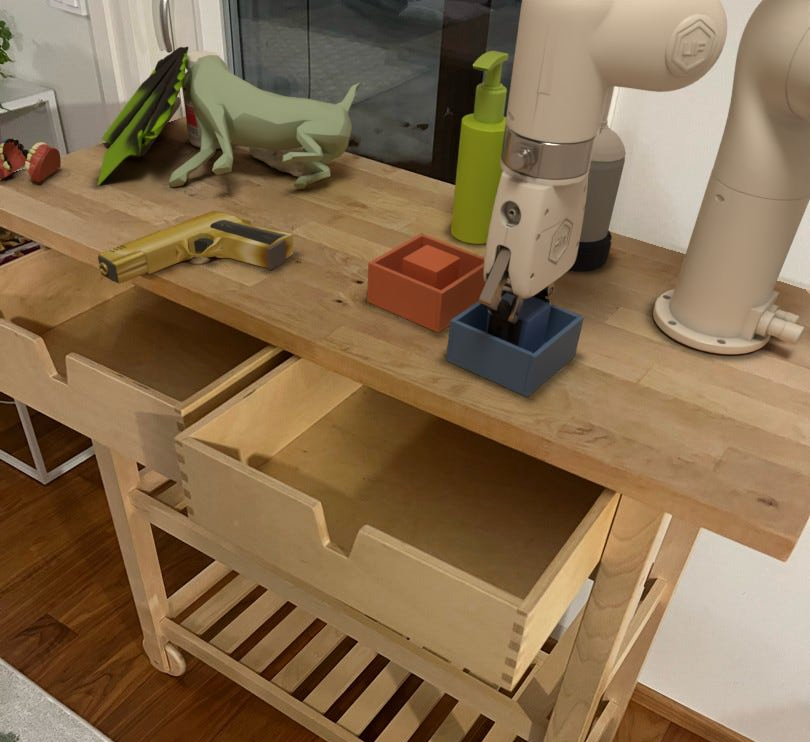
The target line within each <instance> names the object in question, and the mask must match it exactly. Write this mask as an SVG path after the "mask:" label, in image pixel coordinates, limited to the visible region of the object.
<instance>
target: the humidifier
mask: <svg viewBox="0 0 810 742" xmlns="http://www.w3.org/2000/svg"><path fill="white" fill-rule="evenodd" d="M614 89H615V86H611V87H609V88H607V89H606V93H605V98H604V103H603V108H602V112H601V117H600V122H599V126H598V131H597V136H596V141H595V145H594V150H593V155H592V160H591V164H590V169H589V174H588V186H587V196H586V204H585V211H584V217H583V224H582V230H581V236H580V241H579V247H578V252H577V257H576V261H575V263H574V264H573V266H572V267H571V268H570V269H569V270H568V271H572V272H591V271H595V270H599V269H602V267H604V266H605V265H607V261H608V259H609V255H610V250H611V246H612V238H613V236H612V234H611V231H610V230H609V229H610V225H611V220H612V217H613V212H614V208H615V204H616V200H617V196H618V192H619V188H620V184H621V179H622V175H623V170H624V166H625V163H626V155H627V154H626V148H625V147H626V146H625V145H624V143H623V141H622V139H621V137H620V136H619V135H618V133H616V132H615V131H614V130H613V129H611V128H610V127H609V125H608V122H609V121H608V117H609V113H610V107H611V103H612V98H613V94H614Z"/></svg>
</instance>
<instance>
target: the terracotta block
mask: <svg viewBox="0 0 810 742" xmlns="http://www.w3.org/2000/svg"><path fill="white" fill-rule="evenodd" d="M459 265H460V257H457V256H455V255H452V254H450V253H447V252H444V251H442V250H439V249H437V248H434V247H432V246H429V245H425V246H424V247H422V248H420V249H419V250H417V251H415V252H413V253H412V254H410V255H408V256H406V257H405V258H403V262H402V274H403V275H405V276H408V277H410V278H413V279H415V280H417V281H420V282H422V283H425V284H427V285H429V286H432V287H434V288H437V289H439V290H442V289H444V288H446V287H447V286H449V285H450V284H452V283H453V282H455V281H456V280H458V274H459Z"/></svg>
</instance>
